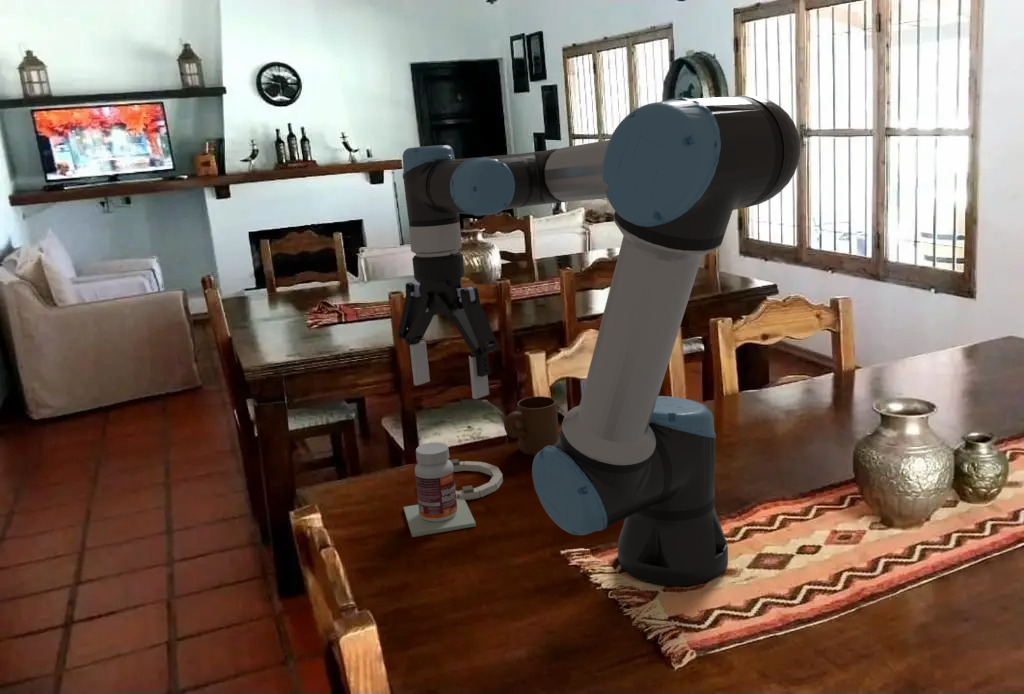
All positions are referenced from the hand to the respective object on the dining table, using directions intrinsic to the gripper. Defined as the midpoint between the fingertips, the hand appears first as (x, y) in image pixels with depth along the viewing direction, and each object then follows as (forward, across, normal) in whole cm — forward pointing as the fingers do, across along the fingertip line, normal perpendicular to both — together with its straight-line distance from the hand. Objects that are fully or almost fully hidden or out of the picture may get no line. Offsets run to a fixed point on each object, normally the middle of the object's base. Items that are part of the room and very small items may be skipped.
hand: (450, 389), depth 134 cm
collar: (+21, +10, -9) cm, 25 cm away
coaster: (+21, +3, +3) cm, 21 cm away
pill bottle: (+21, +3, +3) cm, 21 cm away
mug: (+21, +9, -26) cm, 35 cm away
